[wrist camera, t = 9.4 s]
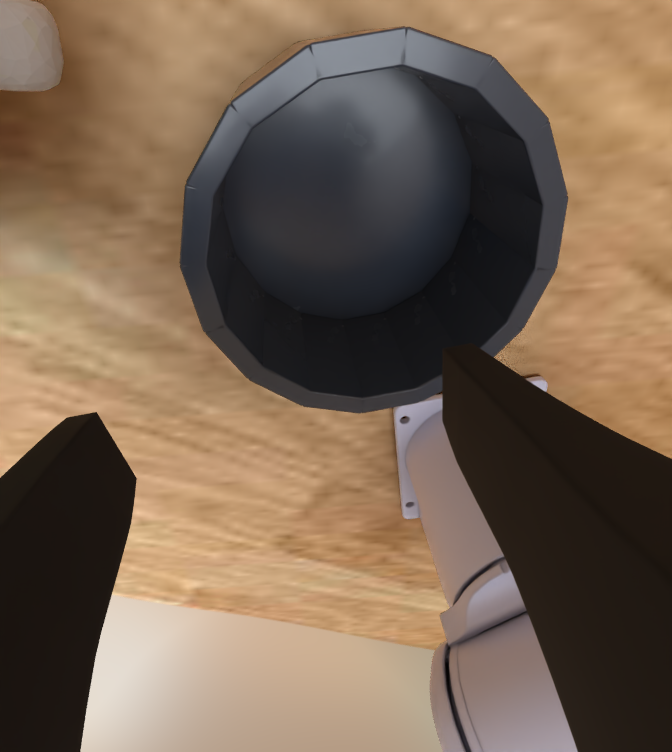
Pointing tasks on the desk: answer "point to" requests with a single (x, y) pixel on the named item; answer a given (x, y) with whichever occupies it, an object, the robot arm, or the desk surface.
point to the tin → (371, 217)
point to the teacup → (28, 47)
